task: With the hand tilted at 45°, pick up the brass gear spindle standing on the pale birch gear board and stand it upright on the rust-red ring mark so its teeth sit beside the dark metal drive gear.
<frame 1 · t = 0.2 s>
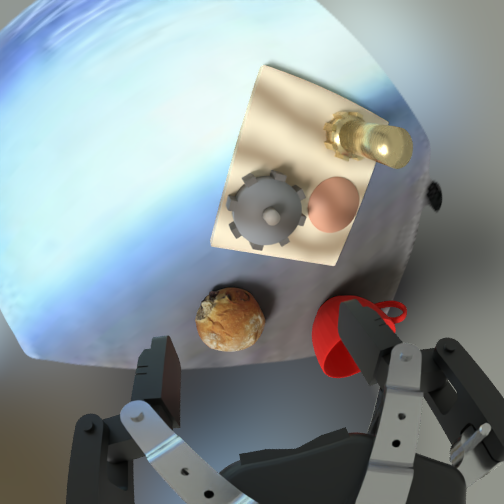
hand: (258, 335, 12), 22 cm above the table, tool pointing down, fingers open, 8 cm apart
brass gear spindle: (344, 135, 30), point 1 cm above the table, touching gear board
gear board: (302, 173, 33), on the table
bread roll: (227, 310, 40), on the table
ceramic cup: (343, 305, 46), on the table
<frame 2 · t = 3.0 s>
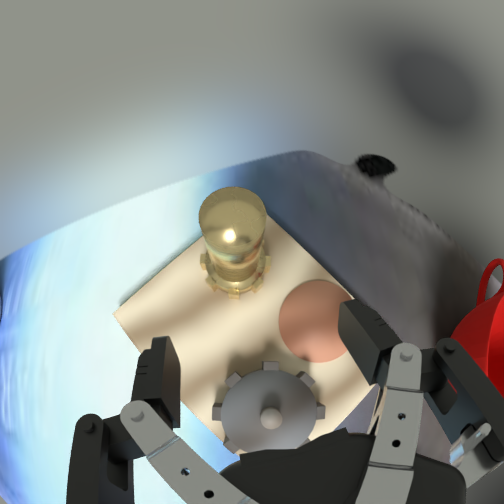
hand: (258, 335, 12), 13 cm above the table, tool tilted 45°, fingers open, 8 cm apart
brass gear spindle: (235, 266, 25), point 1 cm above the table, touching gear board
gear board: (260, 341, 24), on the table
ceramic cup: (459, 343, 24), on the table
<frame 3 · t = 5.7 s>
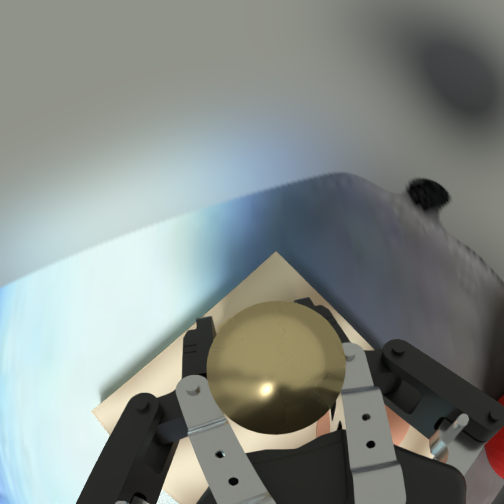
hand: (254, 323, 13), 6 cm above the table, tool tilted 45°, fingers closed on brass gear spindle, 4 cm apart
brass gear spindle: (258, 359, 16), point 2 cm above the table, touching gear board, gripper
gear board: (289, 446, 16), on the table
ceramic cup: (501, 405, 16), on the table
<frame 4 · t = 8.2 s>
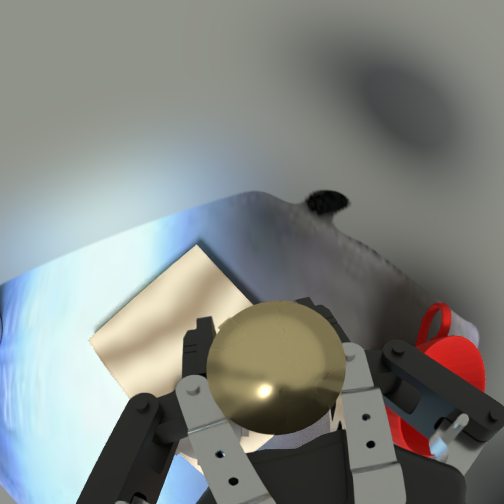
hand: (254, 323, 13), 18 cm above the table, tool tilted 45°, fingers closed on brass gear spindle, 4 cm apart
brass gear spindle: (258, 359, 16), point 13 cm above the table, touching gripper
gear board: (202, 368, 28), on the table
ceramic cup: (401, 376, 28), on the table
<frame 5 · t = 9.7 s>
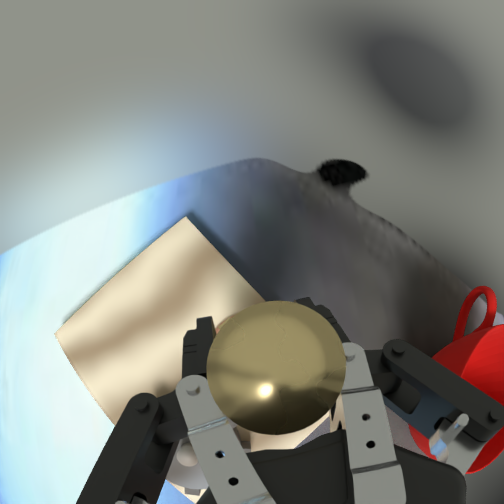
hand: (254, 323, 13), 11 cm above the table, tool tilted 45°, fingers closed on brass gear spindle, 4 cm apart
brass gear spindle: (258, 359, 16), point 7 cm above the table, touching gripper
gear board: (190, 372, 22), on the table
ceramic cup: (432, 378, 22), on the table
when the fingers open (8 cm above the table, at t = 10.9 s): brass gear spindle drops 1 cm, resting on gear board.
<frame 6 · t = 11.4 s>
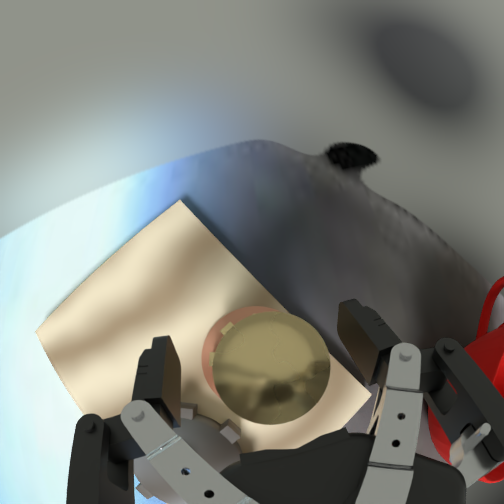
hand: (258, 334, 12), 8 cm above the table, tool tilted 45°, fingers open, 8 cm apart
brass gear spindle: (256, 360, 18), point 2 cm above the table, touching gear board
gear board: (184, 376, 19), on the table
ceramic cup: (452, 379, 19), on the table
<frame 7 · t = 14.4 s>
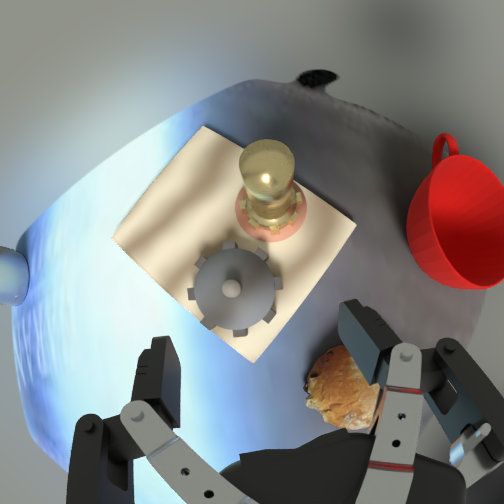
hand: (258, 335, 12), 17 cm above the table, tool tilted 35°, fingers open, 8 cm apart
brass gear spindle: (271, 207, 29), point 2 cm above the table, touching gear board
gear board: (226, 233, 30), on the table
bread roll: (348, 380, 27), on the table
ceramic cup: (429, 224, 28), on the table
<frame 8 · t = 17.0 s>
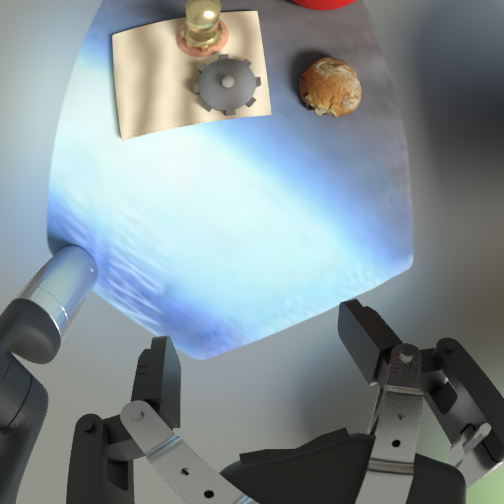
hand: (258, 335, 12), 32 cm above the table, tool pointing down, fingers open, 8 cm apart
brass gear spindle: (202, 35, 29), point 2 cm above the table, touching gear board
gear board: (188, 69, 32), on the table
bread roll: (325, 89, 37), on the table
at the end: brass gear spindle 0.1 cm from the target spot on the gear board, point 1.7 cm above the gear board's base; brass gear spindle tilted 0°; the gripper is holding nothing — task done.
